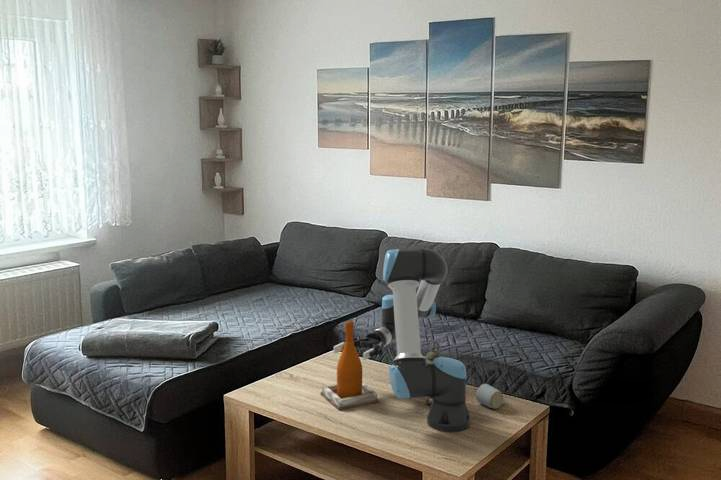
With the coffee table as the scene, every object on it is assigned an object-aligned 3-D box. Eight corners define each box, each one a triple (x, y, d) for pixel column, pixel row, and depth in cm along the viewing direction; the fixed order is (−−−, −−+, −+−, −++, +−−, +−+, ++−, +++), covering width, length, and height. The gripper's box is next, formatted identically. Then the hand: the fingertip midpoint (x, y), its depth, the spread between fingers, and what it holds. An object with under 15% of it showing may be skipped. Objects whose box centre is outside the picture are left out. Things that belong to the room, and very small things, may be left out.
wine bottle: (363, 391, 298) (363, 317, 293) (361, 401, 289) (361, 325, 283) (338, 390, 299) (338, 317, 294) (335, 400, 290) (334, 324, 284)
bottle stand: (379, 402, 290) (379, 393, 290) (338, 410, 283) (338, 401, 282) (359, 387, 305) (359, 379, 305) (320, 394, 298) (320, 386, 297)
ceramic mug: (490, 412, 282) (491, 392, 280) (475, 404, 288) (476, 385, 287) (510, 405, 288) (511, 386, 286) (494, 398, 294) (495, 379, 293)
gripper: (404, 353, 302) (376, 369, 285) (352, 342, 316) (322, 356, 298) (405, 335, 301) (376, 349, 284) (352, 324, 314) (322, 338, 297)
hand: (348, 353), depth 291 cm, fingers open, 13 cm apart
